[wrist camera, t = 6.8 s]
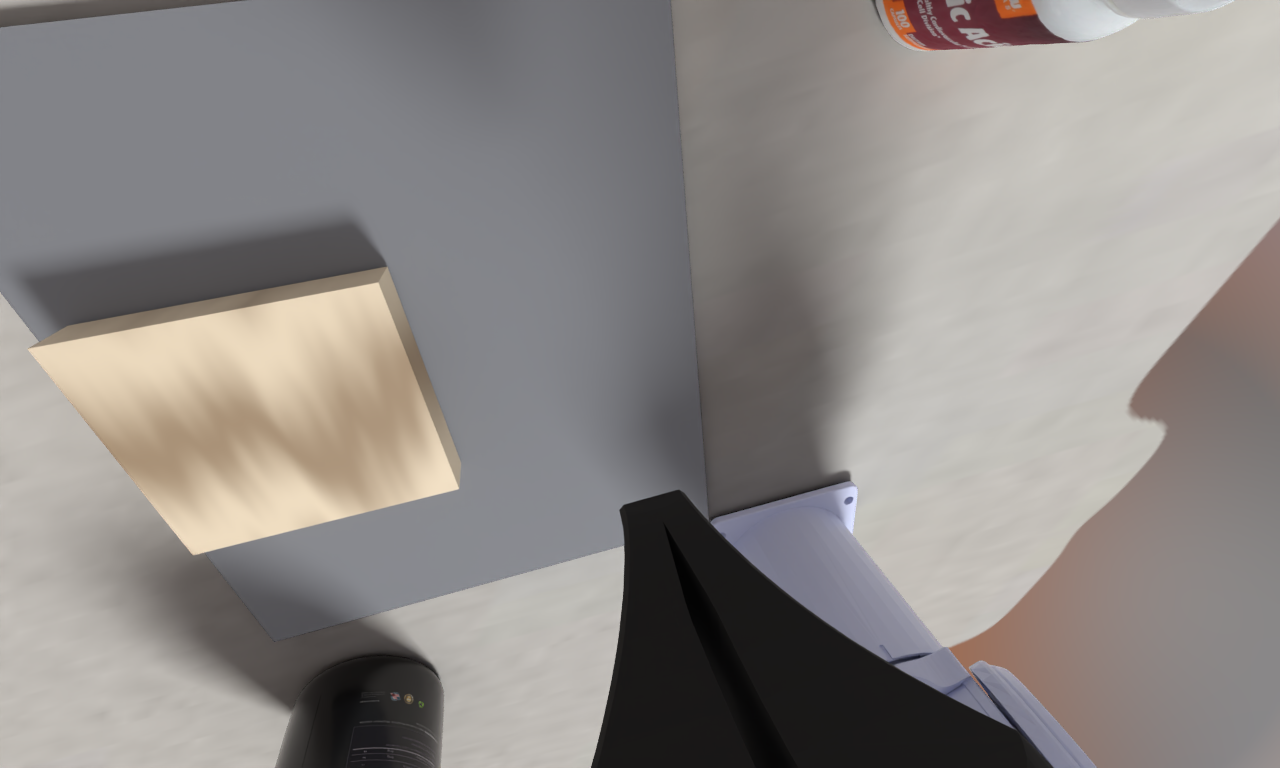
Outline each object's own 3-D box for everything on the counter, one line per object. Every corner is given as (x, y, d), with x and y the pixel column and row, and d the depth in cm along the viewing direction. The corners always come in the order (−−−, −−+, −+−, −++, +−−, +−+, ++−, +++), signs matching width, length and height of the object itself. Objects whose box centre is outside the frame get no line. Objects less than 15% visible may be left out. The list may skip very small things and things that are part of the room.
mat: (706, 516, 26) (709, 522, 26) (277, 634, 24) (274, 642, 23) (663, -44, 15) (667, -47, 15) (-172, 49, 12) (-191, 48, 12)
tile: (459, 489, 20) (192, 555, 18) (461, 460, 21) (215, 519, 20) (378, 282, 15) (26, 348, 14) (387, 265, 17) (71, 323, 16)
